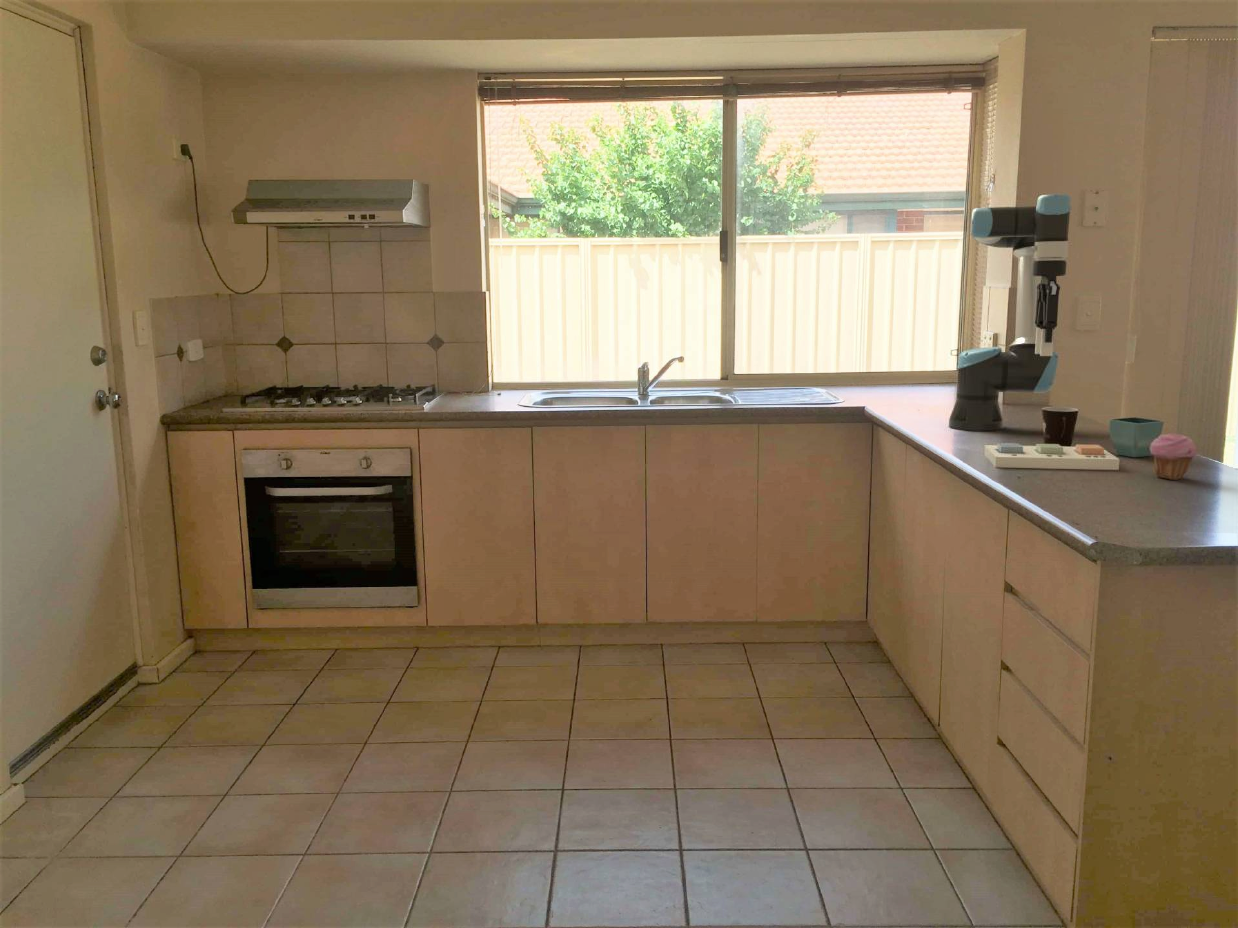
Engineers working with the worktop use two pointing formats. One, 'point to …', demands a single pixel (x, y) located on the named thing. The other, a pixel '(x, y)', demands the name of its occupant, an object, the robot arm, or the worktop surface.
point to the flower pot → (1134, 435)
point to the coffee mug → (1059, 425)
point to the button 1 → (1009, 448)
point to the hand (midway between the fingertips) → (1043, 354)
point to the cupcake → (1172, 455)
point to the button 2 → (1049, 449)
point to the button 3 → (1089, 450)
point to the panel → (1051, 459)
